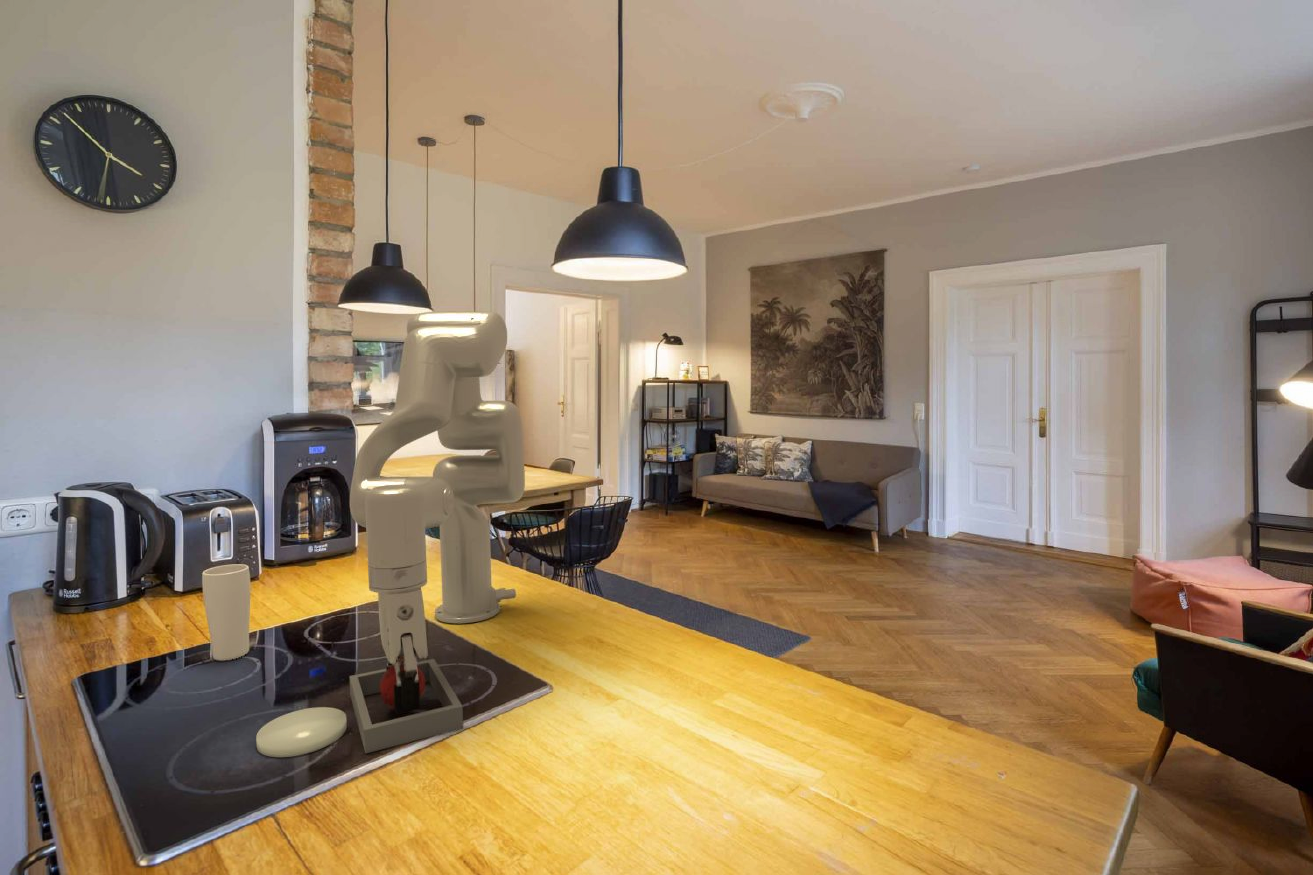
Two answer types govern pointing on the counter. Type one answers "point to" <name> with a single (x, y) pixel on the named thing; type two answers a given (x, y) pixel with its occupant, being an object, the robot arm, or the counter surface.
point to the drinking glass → (227, 609)
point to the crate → (409, 725)
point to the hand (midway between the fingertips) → (403, 700)
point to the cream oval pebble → (301, 732)
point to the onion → (390, 681)
